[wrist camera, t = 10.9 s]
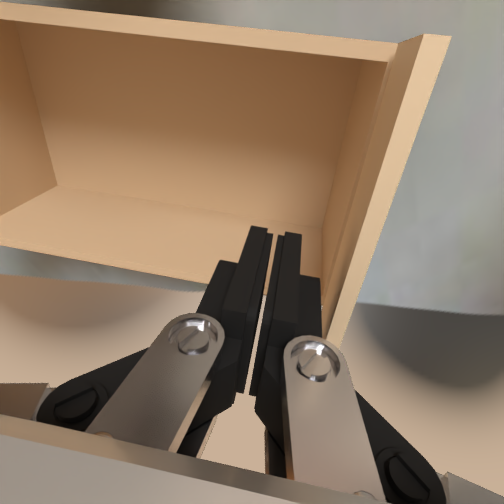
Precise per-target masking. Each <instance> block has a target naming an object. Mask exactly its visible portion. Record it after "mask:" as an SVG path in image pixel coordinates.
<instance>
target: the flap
mask: <svg viewBox="0 0 504 504" xmlns="http://www.w3.org/2000/svg"><path fill="white" fill-rule="evenodd" d="M451 37H452V36H444V35H433V34H422V35H419V36H417V37H414V38H411V39H409V40H406V41H403V42H401V43H398V46H397V50H396V53H395V57H394V60H393V64H392V67H391V71H390V74H389V78H388V81H387V85H386V88H385V92H384V95H383V98H382V102H381V105H380V109H379V112H378V116H377V119H376V123H375V126H374V130H373V133H372V137H371V140H370V144H369V147H368V151H367V154H366V158H365V161H364V165H363V168H362V172H361V175H360V179H359V182H358V186H357V189H356V192H355V196H354V199H353V203H352V206H351V210H350V213H349V217H348V220H347V224H346V227H345V231H344V234H343V238H342V241H341V245H340V248H339V252H338V255H337V259H336V262H335V266H334V269H333V273H332V276H331V280H330V283H329V286H328V290H327V293H326V297H325V300H324V304H323V307H322V311H321V312H322V338H323V339H325V340H327V341H329V342H331V343H332V344H333V345H335V346H336V347H337V348H338V349H339V347H340V345H341V342H342V339H343V336H344V333H345V331H346V328H347V325H348V322H349V320H350V317H351V314H352V311H353V308H354V306H355V303H356V300H357V297H358V295H359V292H360V289H361V286H362V284H363V281H364V278H365V275H366V273H367V270H368V267H369V264H370V261H371V259H372V256H373V253H374V250H375V248H376V245H377V242H378V239H379V237H380V234H381V231H382V228H383V225H384V223H385V220H386V217H387V214H388V212H389V209H390V206H391V203H392V201H393V198H394V195H395V192H396V189H397V187H398V184H399V181H400V178H401V176H402V173H403V170H404V167H405V165H406V162H407V159H408V156H409V153H410V151H411V148H412V145H413V142H414V140H415V137H416V134H417V131H418V128H419V126H420V123H421V120H422V117H423V115H424V112H425V109H426V106H427V104H428V101H429V98H430V95H431V92H432V90H433V87H434V84H435V81H436V79H437V76H438V73H439V70H440V68H441V65H442V62H443V59H444V56H445V54H446V51H447V48H448V45H449V43H450V40H451Z"/></svg>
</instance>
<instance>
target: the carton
mask: <svg viewBox="0 0 504 504" xmlns="http://www.w3.org/2000/svg"><path fill="white" fill-rule="evenodd" d="M397 46H398V43H388V42H379V41H369V40H360V39H350V38H341V37H331V36H322V35H312V34H303V33H293V32H283V31H274V30H264V29H255V28H245V27H236V26H226V25H217V24H207V23H198V22H188V21H179V20H169V19H160V18H150V17H141V16H131V15H122V14H112V13H103V12H93V11H84V10H74V9H65V8H55V7H46V6H36V5H27V4H17V3H7V2H0V245H2V246H8V247H13V248H18V249H24V250H29V251H34V252H40V253H45V254H50V255H56V256H61V257H66V258H72V259H77V260H82V261H88V262H93V263H98V264H104V265H109V266H114V267H120V268H125V269H130V270H136V271H141V272H146V273H152V274H157V275H162V276H168V277H173V278H178V279H184V280H189V281H194V282H200V283H205V284H209V282H210V280H211V278H212V275H213V273H214V271H215V268H216V266H217V264H218V262H219V260H225V261H231V262H236V263H238V261H239V259H240V256H241V253H242V250H243V247H244V244H245V241H246V238H247V236H248V233H249V230H250V227H251V225H253V226H258V227H264V228H268V231H267V233H273V240H272V246H271V252H270V258H269V264H268V269H267V275H266V281H265V287H264V293H263V294H264V295H267V291H268V286H269V280H270V275H271V269H272V264H273V259H274V253H275V248H276V242H277V237H278V235H285V231H287V232H292V233H298V234H302V246H301V265H300V274H301V275H306V276H312V277H317V278H320V284H321V305H322V306H323V304H324V300H325V297H326V293H327V290H328V286H329V283H330V280H331V276H332V273H333V269H334V266H335V262H336V259H337V255H338V252H339V248H340V245H341V241H342V238H343V234H344V231H345V227H346V224H347V220H348V217H349V213H350V210H351V206H352V203H353V199H354V196H355V192H356V189H357V186H358V182H359V179H360V175H361V172H362V168H363V165H364V161H365V158H366V154H367V151H368V147H369V144H370V140H371V137H372V133H373V130H374V126H375V123H376V119H377V116H378V112H379V109H380V105H381V102H382V98H383V95H384V92H385V88H386V85H387V81H388V78H389V74H390V71H391V67H392V64H393V60H394V57H395V53H396V50H397Z"/></svg>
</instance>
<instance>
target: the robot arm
mask: <svg viewBox="0 0 504 504" xmlns="http://www.w3.org/2000/svg"><path fill="white" fill-rule="evenodd" d="M267 231H268V228H264V227H258V226H253V225H251V227H250V230H249V233H248V236H247V238H246V241H245V244H244V247H243V250H242V253H241V256H240V259H239V261H238V263H236V262H231V261H225V260H219V262H218V264H217V266H216V268H215V271H214V273H213V275H212V278H211V280H210V282H209V284H208V287H207V289H206V291H205V293H204V296H203V298H202V300H201V302H200V305H199V307H198V309H197V311H196V313H188V314H185V315H181V316H179V317H176V318H175V319H173V320H171V321H170V322H169V323H168V324H167V325H166V326H165V327H164V329H163V330H162V331H161V333H160V334H159V335H158V337H157V338H156V339H155V340H154V342H153V343H152V344H151V346H150V347H149V348H146V349H144V350H141V351H139V352H137V353H134V354H132V355H129V356H127V357H124V358H122V359H120V360H117V361H115V362H112V363H110V364H107V365H105V366H103V367H100V368H98V369H96V370H93V371H91V372H88V373H86V374H83V375H81V376H79V377H76V378H74V379H71V380H69V381H67V382H66V383H64V384H62V385H60V386H58V387H57V388H50V386H49V384H48V383H0V504H504V497H503V496H501V495H498V494H496V493H494V492H492V491H489V490H487V489H485V488H483V487H481V486H478V485H476V484H474V483H472V482H469V481H467V480H465V479H463V478H460V477H458V476H456V475H454V474H452V473H449V472H447V473H446V474H445V475H442V474H439V473H437V472H435V470H434V469H433V467H432V466H431V465H430V464H429V463H428V462H427V460H426V459H425V458H424V457H423V456H422V455H421V454H420V453H419V452H418V451H417V450H416V449H415V448H414V447H413V446H412V445H411V444H410V443H408V441H407V440H406V439H405V438H404V437H402V435H401V434H400V433H398V432H397V431H396V430H395V429H394V428H393V427H392V426H391V425H390V424H389V423H388V422H387V421H386V420H385V419H384V418H383V417H382V416H381V415H380V414H379V413H378V412H377V411H376V410H375V409H374V408H373V407H372V406H371V405H370V404H369V403H368V402H367V401H366V400H365V399H364V398H363V397H362V396H361V395H360V394H359V393H358V392H357V391H355V389H354V387H353V383H352V380H351V376H350V373H349V369H348V366H347V362H346V360H345V358H344V356H343V354H342V353H341V352H340V350H339V349H338V348H337V347H336V346H335V345H333V344H332V343H331V342H329V341H327V340H325V339H323V338H322V312H321V284H320V278H317V277H312V276H306V275H301V274H300V265H301V246H302V234H298V233H292V232H287V231H285V235H278V237H277V242H276V248H275V253H274V259H273V264H272V269H271V275H270V280H269V286H268V291H267V297H266V302H265V308H264V313H263V319H262V324H261V330H260V335H259V341H258V346H257V352H256V358H255V363H254V369H253V374H252V380H251V386H250V391H249V395H252V396H256V402H255V408H254V409H255V412H256V414H257V415H258V417H259V418H260V420H261V421H262V422H263V424H264V425H265V433H264V434H265V435H264V436H265V474H264V473H259V472H255V471H251V470H246V469H242V468H238V467H233V466H229V465H224V464H221V463H216V462H212V461H208V460H203V459H200V457H201V455H202V453H203V451H204V448H205V446H206V444H207V441H208V439H209V437H210V434H211V432H212V429H213V427H214V425H215V422H216V418H217V415H218V414H219V413H221V412H223V411H224V410H226V409H228V408H229V407H231V406H232V404H234V400H235V396H236V392H238V393H244V389H245V384H246V379H247V374H248V369H249V364H250V359H251V354H252V349H253V344H254V339H255V334H256V328H257V324H258V319H259V314H260V309H261V304H262V298H263V293H264V287H265V281H266V275H267V269H268V264H269V258H270V252H271V246H272V240H273V233H267Z"/></svg>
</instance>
